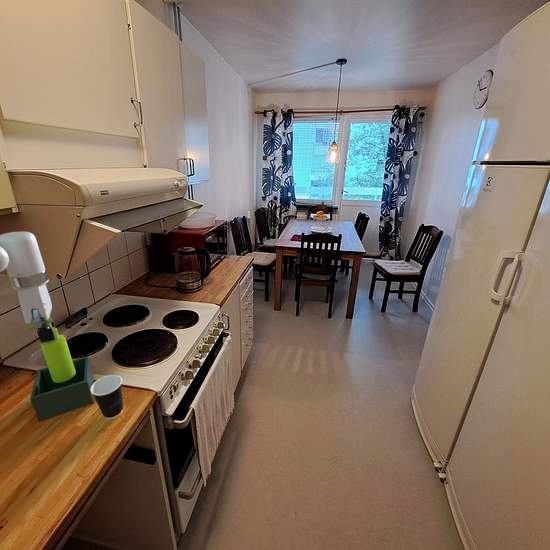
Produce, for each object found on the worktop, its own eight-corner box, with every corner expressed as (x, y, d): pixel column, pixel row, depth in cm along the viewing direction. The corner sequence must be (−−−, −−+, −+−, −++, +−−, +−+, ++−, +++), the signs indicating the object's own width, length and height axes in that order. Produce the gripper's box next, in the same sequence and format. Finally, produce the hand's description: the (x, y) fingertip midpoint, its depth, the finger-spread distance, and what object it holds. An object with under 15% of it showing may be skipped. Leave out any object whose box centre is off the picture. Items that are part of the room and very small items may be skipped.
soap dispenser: (46, 377, 87) (26, 321, 80) (72, 366, 92) (55, 312, 84) (51, 387, 84) (30, 329, 76) (78, 375, 88) (61, 320, 81)
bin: (38, 421, 82) (29, 398, 79) (45, 390, 93) (37, 369, 90) (93, 403, 89) (87, 381, 85) (93, 376, 99) (88, 356, 96)
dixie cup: (105, 403, 89) (98, 375, 85) (132, 401, 89) (126, 373, 85) (93, 425, 81) (84, 395, 77) (122, 423, 82) (115, 394, 78)
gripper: (18, 271, 80) (37, 327, 87) (3, 293, 67) (27, 357, 74) (50, 267, 84) (67, 320, 91) (42, 287, 71) (62, 348, 78)
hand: (49, 336), depth 82 cm, fingers closed on soap dispenser, 3 cm apart
